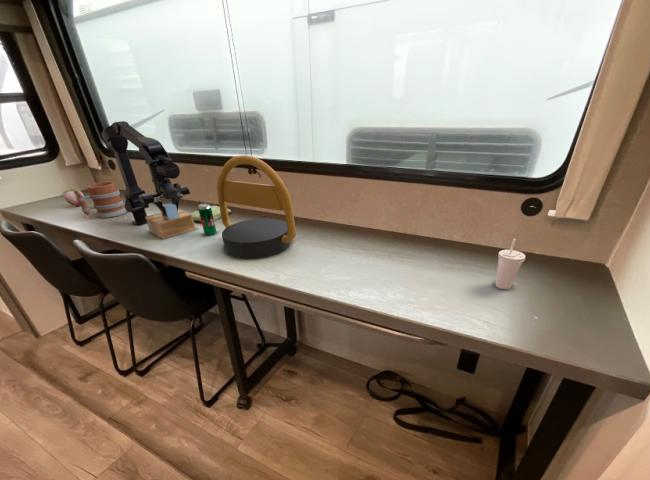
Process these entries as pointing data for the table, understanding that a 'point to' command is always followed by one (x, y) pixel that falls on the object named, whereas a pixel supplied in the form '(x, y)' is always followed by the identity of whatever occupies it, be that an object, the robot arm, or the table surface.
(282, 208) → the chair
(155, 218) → the lid
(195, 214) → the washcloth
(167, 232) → the wooden box
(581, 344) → the table surface
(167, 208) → the block
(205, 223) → the soda can
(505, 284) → the smoothie
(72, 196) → the decorative fruit
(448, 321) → the table surface
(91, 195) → the mug
